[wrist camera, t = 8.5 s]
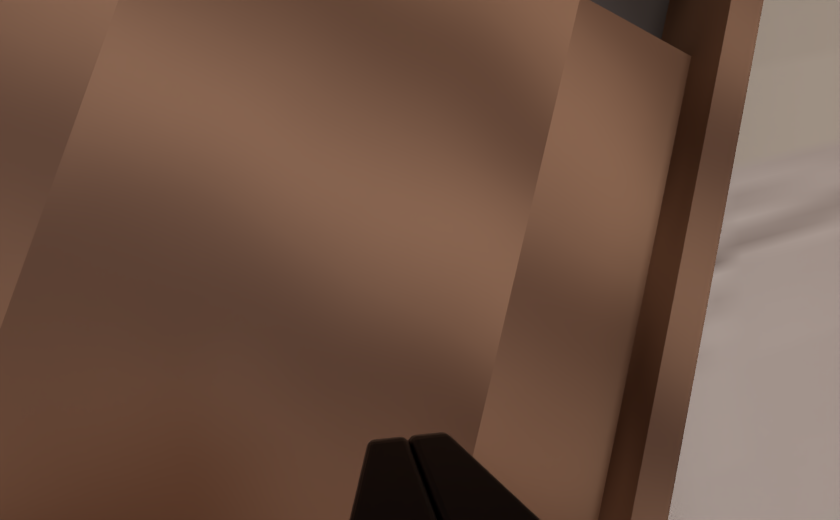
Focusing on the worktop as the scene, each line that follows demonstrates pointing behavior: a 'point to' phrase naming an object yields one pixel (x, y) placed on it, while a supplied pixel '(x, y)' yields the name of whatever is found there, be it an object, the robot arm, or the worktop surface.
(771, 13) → the worktop surface
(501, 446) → the brown wooden tray
